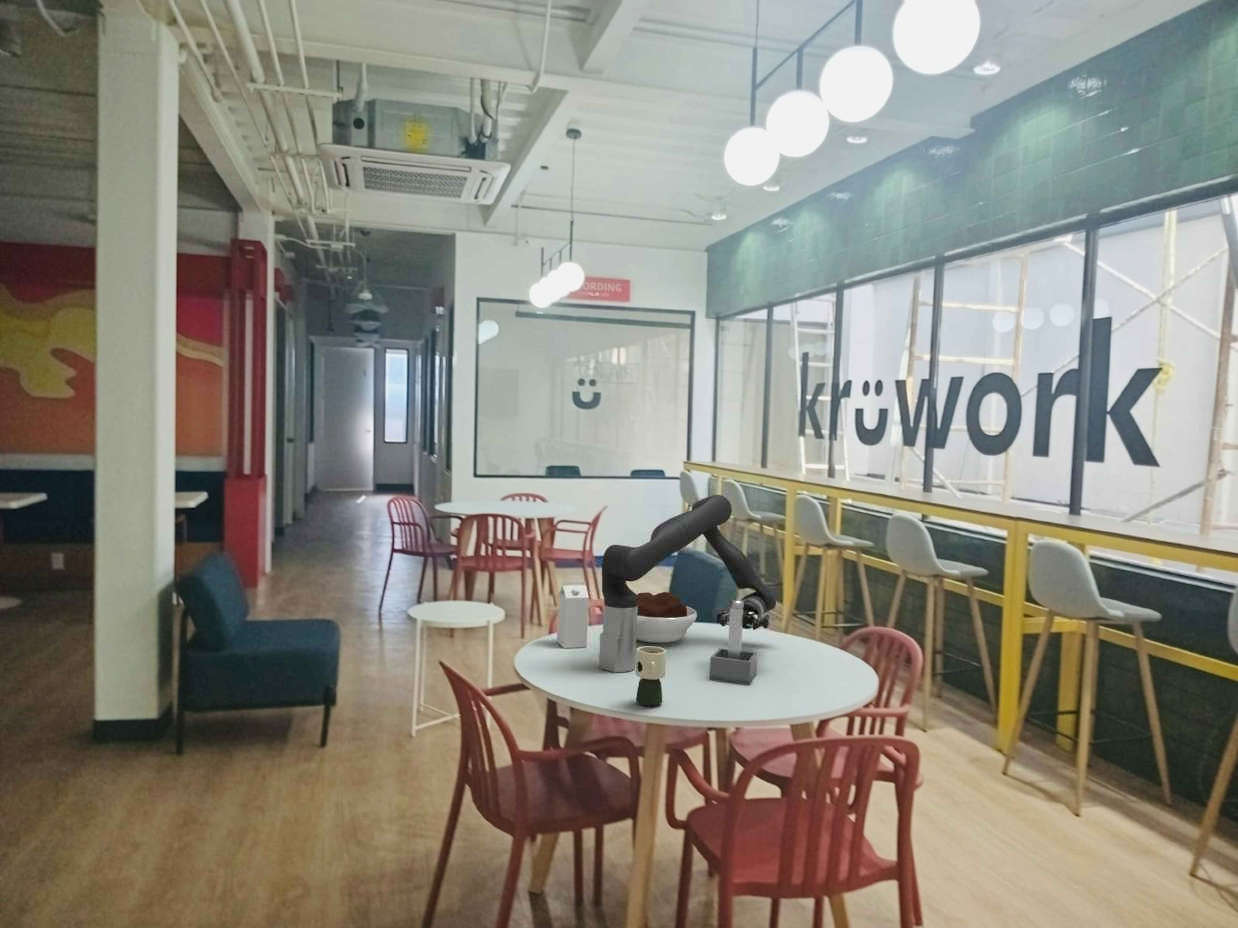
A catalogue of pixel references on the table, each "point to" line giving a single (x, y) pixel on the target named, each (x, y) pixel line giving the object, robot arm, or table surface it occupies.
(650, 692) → the character mug
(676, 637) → the bowl of brownies
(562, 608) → the milk carton
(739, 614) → the brushed steel column
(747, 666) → the holder
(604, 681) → the table surface
